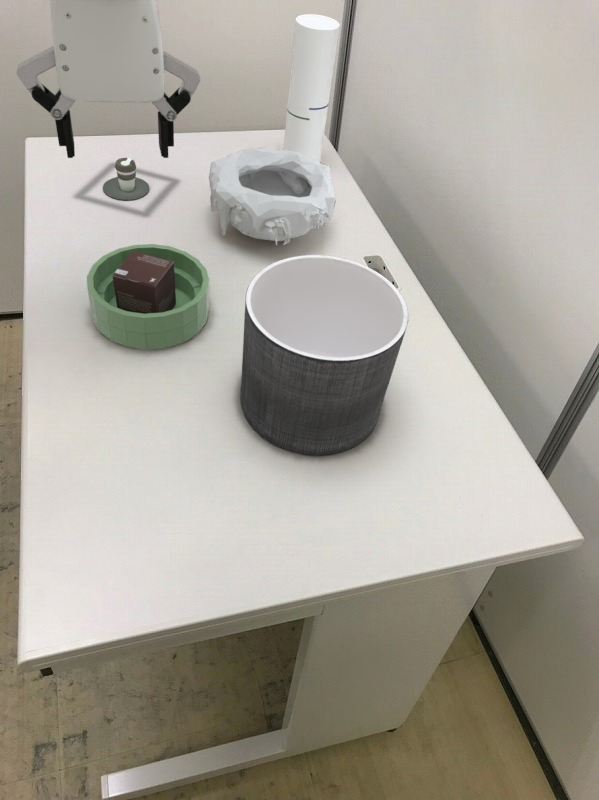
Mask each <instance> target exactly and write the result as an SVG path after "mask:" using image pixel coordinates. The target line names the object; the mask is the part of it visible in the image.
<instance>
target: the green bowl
mask: <svg viewBox="0 0 599 800" xmlns="http://www.w3.org/2000/svg"><path fill="white" fill-rule="evenodd" d="M133 251H137V252H141V253H144V254H148V255H152V256H155V257H159V258H163V259H166V260H170V261H174V272H175V293H176V304H175V306H174V307H173V308H172V310H169V311H166V312H161V313H147V314H143V313H136V312H128V311H125V310H122V309H119V308H117V303H116V296H115V289H114V283H113V277H112V275H113V274H114V273H115V271H116V270H117V269H118V268H119V267H120V266H121V265H122V263H123V262H124V261H125V260H126V259H127V258H128V256H129V255H130V254H131V253H132V252H133ZM86 283H87V284H86V285H87V286H86V288H87V293H88V300H89V305H90V311H91V317H92V321H93V323H94V325H95V326H96V328H97V329H98V332H100V333H101V334H103V335H104V336H105V337H106V338H108V339H109V340H110V341H112V342H115V343H117V344H120V345H123V346H125V347H127V348H133V349H141V350H155V349H166V348H167V349H168V348H170V347H173V346H176V345H180V344H183V343H185V342H186V341H188V340H190V339H191V338H193V337H195V336H196V335H197V334H198V333H199V332H200V331H201V330H202V329H203V327H204V326H205V325H206V324H207V321H208V318H209V313H210V278H209V274H208V270H207V268H206V267H205V266H204V264H203V263H202V261H200V259H198V258H197V257H195V256H193V255H192V254H190V252H188V251H185V250H182V249H179V248H177V247H174V246H169V245H164V244H163V245H162V244H156V243H146V244H145V243H143V244H133V245H129V246H124V247H120V248H117V249H115V250H112V251H110V252H108V253H106V254H104V255H102V256H101V257H100V258H99V259H98V260H96V261H95V262H94V263H93V264H92V266H91V267H90V268H89V271H88V273H87V275H86Z"/></svg>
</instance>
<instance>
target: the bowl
mask: <svg viewBox="0 0 599 800" xmlns="http://www.w3.org/2000/svg"><path fill="white" fill-rule="evenodd" d="M208 173H209V174H208V183H209V188H210V196H209V199H210V212H216V213H217V214H218V217H219V221H220V229H221V235H222V237H223V236H226V234H227V230H228V227H229V224H230V225H231V226H233V227H234V228H235V229H237V230H238V231H239V232H240V234H242V235H245V236H248V237H251V238H252V239H256V240H265V241H272V242H273V241H274V242H275V246H278V242H282V241H284V242H283V244H282V245H283V246H285V245H288V244H289V243H290V242H291V239H294V238H299V237H302V236H305V235H306V234H307V233H308V232H309V231H312V229H314V230H315V229H316V226H317V229H319V227H321V229H322V233H325V232H324V230H325V228H324V227H326V221H327V220H326V219H327V218H328V219H329V221H334V219H333V218H334V210H335V206H336V201H337V200H336V199H337V197H336V193H335V186H334V184H333V181H332V180H333V179H332V178H331V169H330V166H329V165H325V164H322V163H321V162H320V163H318V162H316V161H314V160H312V159H310V158H309V157H307V156H305V155H303V154H301V153H298V152H292V151H283V150H278V149H277V150H276V149H272V148H270V147H267V146H265V147H253V146H251V147H248V148H245V149H242V150H238V151H236V152H233V153H230V154H227V155H225V156H224V157H222V158H220V159H216V160H213V161H211V162H210V167H209V172H208Z"/></svg>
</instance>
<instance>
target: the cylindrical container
mask: <svg viewBox="0 0 599 800" xmlns="http://www.w3.org/2000/svg"><path fill="white" fill-rule="evenodd" d="M340 25H341V24H340V22H339V21H338V20H336V19H334V18H332V17H330V16H327V15H322V14H318V13H317V14H315V13H306V14H305V13H304V14H300V15H297V16H296V17H295V23H294V32H293V33H294V34H293V44H292V52H291V53H292V54H291V65H290V74H289V84H288V85H289V86H288V94H287V105H286V115H285V126H284V136H283V147H282V151H292V152H298V153H301V154H303V155H305V156H307V157H309V158H310V159H312V160H314V161H316V162H318V163H320V164H321V159H322V152H323V145H324V139H325V132H326V124H327V118H328V112H329V102H330V97H331V90H332V83H333V76H334V69H335V61H336V54H337V48H338V41H339V35H340V34H339V33H340Z"/></svg>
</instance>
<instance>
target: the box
mask: <svg viewBox="0 0 599 800" xmlns="http://www.w3.org/2000/svg"><path fill="white" fill-rule="evenodd" d="M112 277H113V283H114V289H115V296H116V303H117V308H119V309H122V310H125V311H128V312H136V313H143V314H147V313H161V312H166V311H169V310H172V308H173V307H174V306H175V304H176V293H175V272H174V261H170V260H166V259H163V258H159V257H155V256H152V255H148V254H144V253H141V252H137V251H133V252H132V253H131V254H130V255H129V256H128V258H127V259H126V260H125V261H124V262H123V263H122V265H121V266H120V267H119V268H118V269H117V270H116V271H115V273H114V274H113V275H112Z"/></svg>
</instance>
